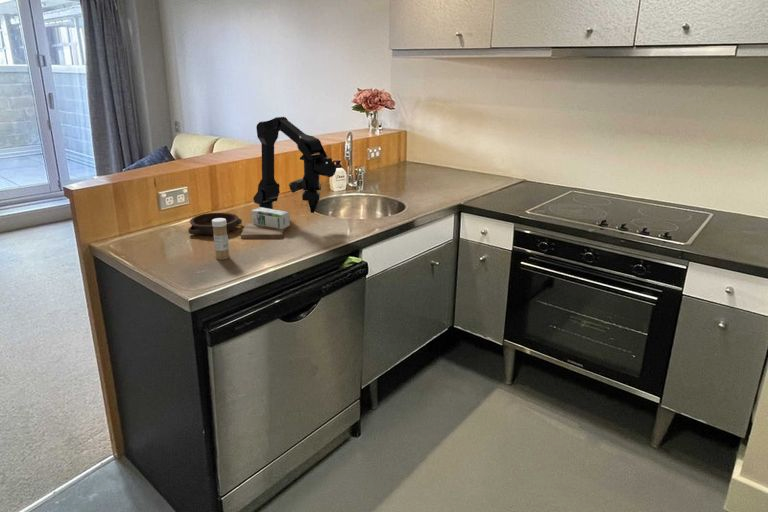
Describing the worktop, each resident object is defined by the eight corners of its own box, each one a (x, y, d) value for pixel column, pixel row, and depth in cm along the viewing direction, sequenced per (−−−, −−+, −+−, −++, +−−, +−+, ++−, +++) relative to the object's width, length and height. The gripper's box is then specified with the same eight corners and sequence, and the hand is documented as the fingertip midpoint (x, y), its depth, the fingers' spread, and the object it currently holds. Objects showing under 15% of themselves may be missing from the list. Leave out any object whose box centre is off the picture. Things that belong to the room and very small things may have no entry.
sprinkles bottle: (225, 254, 179) (221, 216, 175) (232, 257, 177) (228, 219, 172) (212, 257, 176) (209, 219, 172) (220, 261, 173) (216, 222, 169)
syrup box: (281, 229, 201) (251, 224, 207) (290, 225, 206) (260, 220, 212) (280, 215, 199) (250, 210, 205) (289, 211, 204) (259, 206, 210)
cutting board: (248, 225, 210) (248, 221, 210) (286, 225, 211) (285, 221, 211) (241, 238, 195) (240, 234, 195) (281, 238, 196) (281, 234, 196)
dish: (177, 231, 202) (176, 219, 200) (228, 220, 217) (227, 208, 215) (201, 242, 191) (200, 229, 189) (252, 229, 206) (251, 217, 204)
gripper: (292, 167, 206) (293, 206, 211) (287, 178, 188) (289, 219, 194) (320, 167, 206) (321, 206, 212) (318, 178, 189) (319, 219, 195)
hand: (312, 212), depth 203 cm, fingers closed
